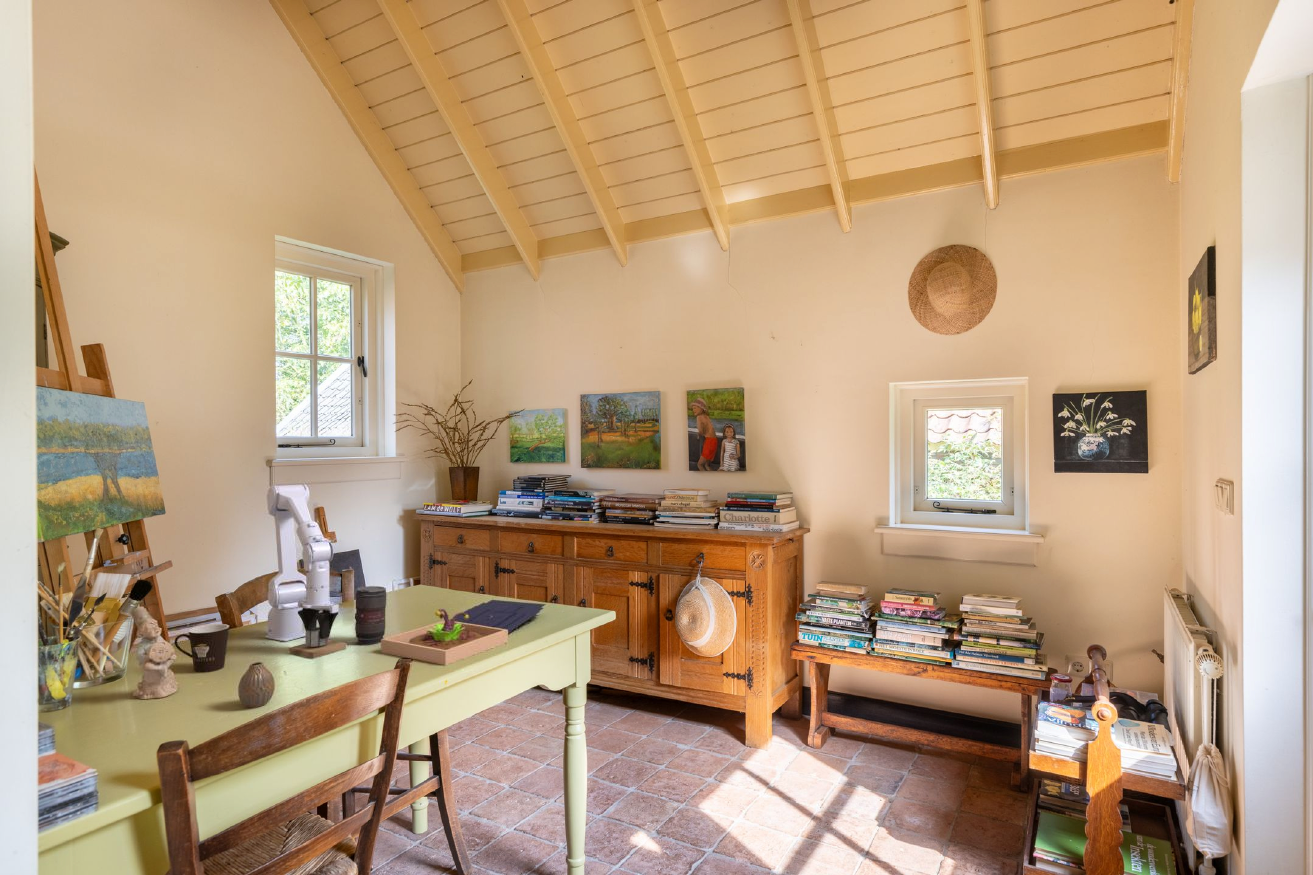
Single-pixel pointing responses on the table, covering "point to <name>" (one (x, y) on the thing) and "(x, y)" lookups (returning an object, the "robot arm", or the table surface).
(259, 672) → the vase
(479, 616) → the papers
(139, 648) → the figurine
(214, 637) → the coffee mug
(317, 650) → the shaft stand
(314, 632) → the ring
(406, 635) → the tan flat square tray
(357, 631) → the camera lens
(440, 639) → the plant
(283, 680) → the table surface
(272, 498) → the robot arm
